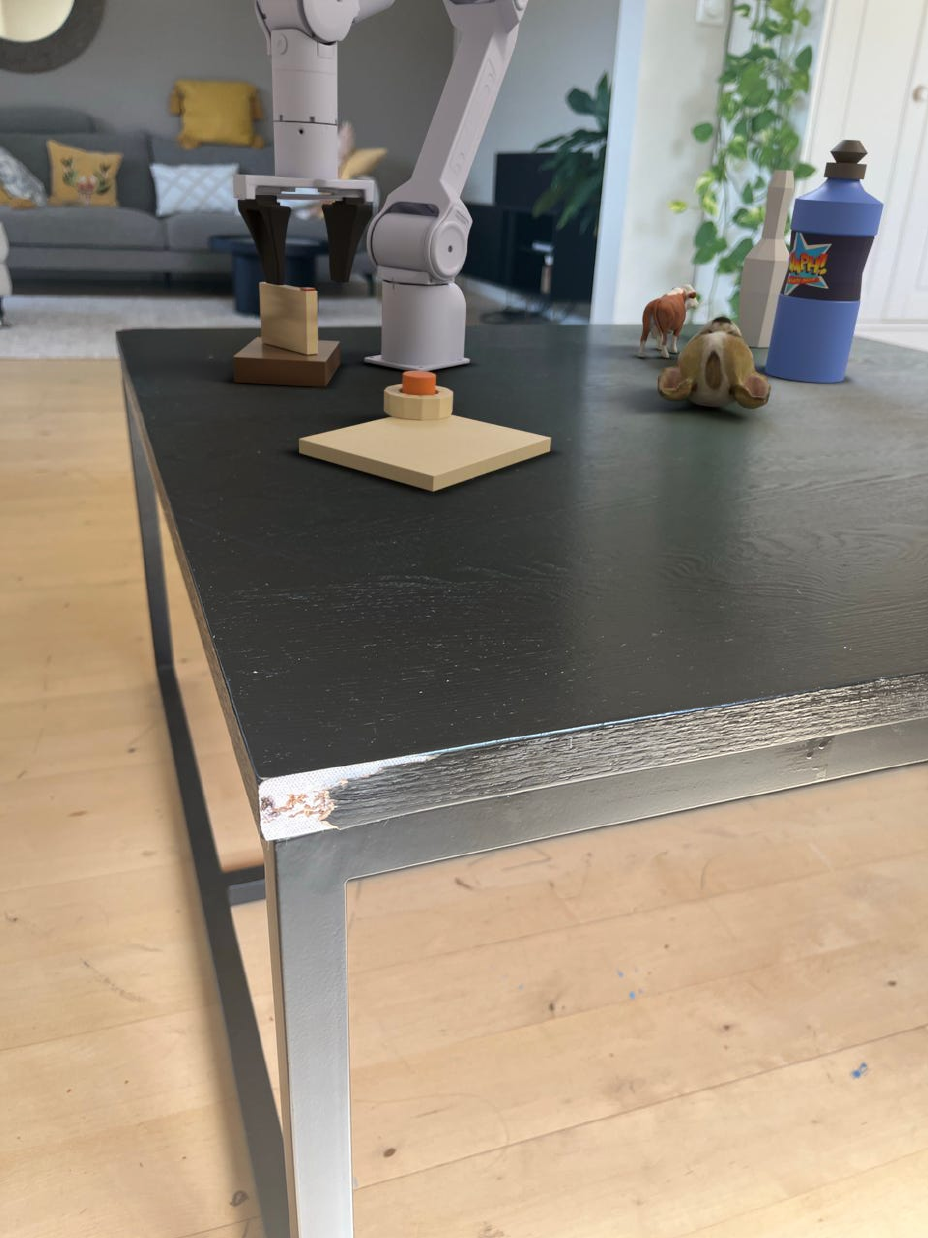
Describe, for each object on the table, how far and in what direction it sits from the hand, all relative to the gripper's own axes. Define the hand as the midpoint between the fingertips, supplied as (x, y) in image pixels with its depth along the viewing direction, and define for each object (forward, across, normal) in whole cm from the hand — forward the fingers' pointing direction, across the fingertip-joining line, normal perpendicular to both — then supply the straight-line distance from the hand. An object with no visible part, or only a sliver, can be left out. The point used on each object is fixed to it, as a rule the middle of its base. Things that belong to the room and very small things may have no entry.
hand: (308, 282), depth 92 cm
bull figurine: (+10, +49, -9) cm, 51 cm away
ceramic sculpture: (+10, +28, -29) cm, 41 cm away
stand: (+9, +1, +4) cm, 10 cm away
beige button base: (+9, -7, -25) cm, 28 cm away
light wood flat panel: (+7, +1, +5) cm, 8 cm away
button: (+7, -3, -19) cm, 21 cm away
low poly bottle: (+10, +68, -11) cm, 69 cm away
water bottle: (+10, +53, -26) cm, 60 cm away
